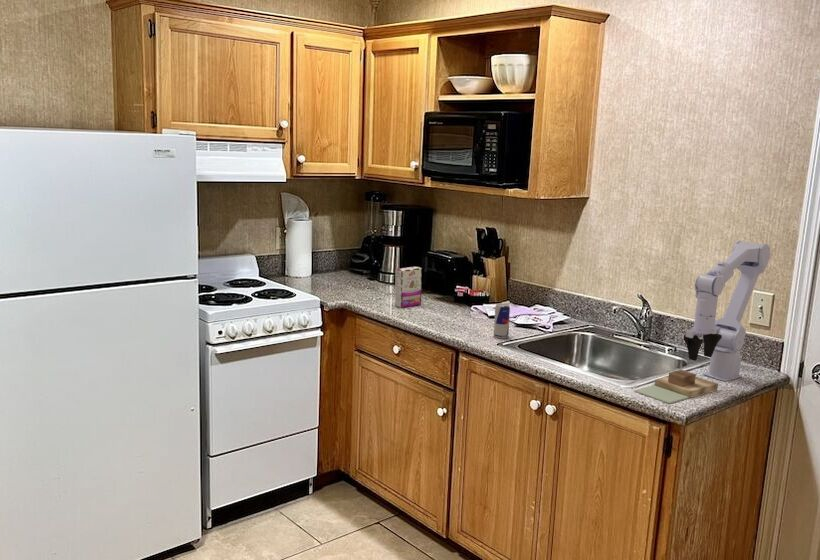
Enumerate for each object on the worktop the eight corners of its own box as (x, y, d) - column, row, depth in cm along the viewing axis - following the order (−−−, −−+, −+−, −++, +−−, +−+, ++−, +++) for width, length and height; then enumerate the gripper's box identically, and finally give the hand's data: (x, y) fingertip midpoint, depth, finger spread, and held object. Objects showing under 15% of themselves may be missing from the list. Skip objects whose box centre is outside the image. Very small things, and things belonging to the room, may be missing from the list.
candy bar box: (413, 303, 326) (415, 266, 323) (421, 305, 322) (422, 267, 319) (393, 306, 319) (394, 268, 316) (401, 308, 315) (402, 270, 312)
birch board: (682, 378, 233) (683, 372, 233) (717, 389, 223) (717, 383, 223) (654, 386, 225) (654, 379, 224) (689, 398, 215) (690, 391, 215)
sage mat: (653, 386, 225) (653, 385, 225) (688, 398, 215) (688, 397, 215) (634, 391, 219) (634, 390, 219) (669, 404, 210) (669, 402, 210)
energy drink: (506, 339, 271) (508, 307, 269) (491, 337, 273) (493, 305, 271) (509, 336, 276) (511, 304, 274) (495, 334, 278) (497, 303, 276)
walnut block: (680, 379, 226) (681, 369, 225) (694, 383, 222) (695, 374, 221) (667, 382, 223) (668, 372, 222) (682, 387, 219) (683, 377, 218)
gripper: (702, 319, 216) (697, 364, 219) (731, 315, 224) (726, 358, 227) (681, 314, 222) (676, 358, 224) (710, 310, 230) (705, 352, 232)
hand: (700, 358), depth 226 cm, fingers open, 7 cm apart
